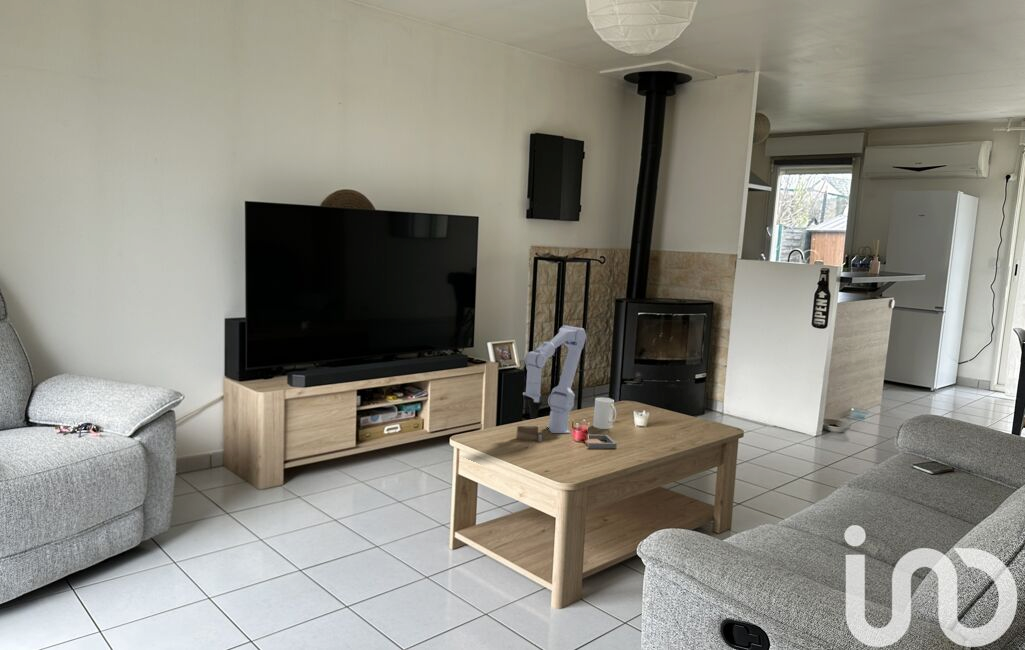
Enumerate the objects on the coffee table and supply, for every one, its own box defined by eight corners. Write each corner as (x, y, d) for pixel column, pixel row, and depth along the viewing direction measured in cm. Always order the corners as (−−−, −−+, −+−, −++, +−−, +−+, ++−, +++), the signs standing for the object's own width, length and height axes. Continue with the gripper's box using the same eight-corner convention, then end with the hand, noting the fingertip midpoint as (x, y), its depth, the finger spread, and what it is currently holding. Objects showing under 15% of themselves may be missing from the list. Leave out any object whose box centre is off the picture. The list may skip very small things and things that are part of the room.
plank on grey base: (515, 436, 287) (516, 423, 286) (537, 436, 288) (537, 424, 288) (519, 441, 279) (519, 429, 278) (541, 442, 281) (542, 429, 280)
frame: (580, 439, 288) (581, 434, 288) (606, 439, 290) (607, 434, 290) (589, 448, 276) (589, 443, 276) (616, 448, 278) (616, 443, 278)
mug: (621, 430, 306) (623, 403, 304) (605, 432, 301) (607, 404, 300) (604, 423, 316) (606, 396, 314) (588, 424, 311) (590, 397, 310)
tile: (583, 442, 285) (583, 439, 285) (597, 442, 287) (597, 438, 287) (588, 447, 280) (588, 443, 279) (602, 446, 281) (603, 443, 281)
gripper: (520, 378, 287) (518, 411, 289) (527, 386, 273) (525, 420, 275) (537, 378, 289) (534, 411, 290) (545, 386, 274) (543, 420, 276)
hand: (531, 415), depth 283 cm, fingers open, 7 cm apart
